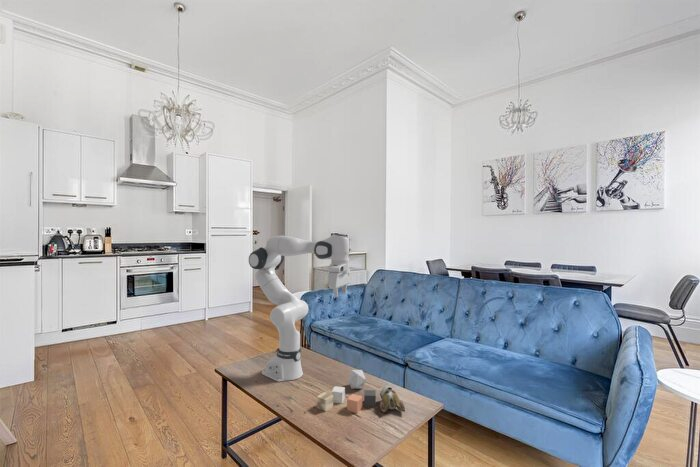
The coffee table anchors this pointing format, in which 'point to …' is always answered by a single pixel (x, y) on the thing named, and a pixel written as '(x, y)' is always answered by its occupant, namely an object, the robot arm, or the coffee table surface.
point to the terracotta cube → (354, 403)
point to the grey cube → (338, 394)
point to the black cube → (369, 398)
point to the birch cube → (325, 401)
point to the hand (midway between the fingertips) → (340, 295)
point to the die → (356, 379)
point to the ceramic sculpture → (390, 399)
